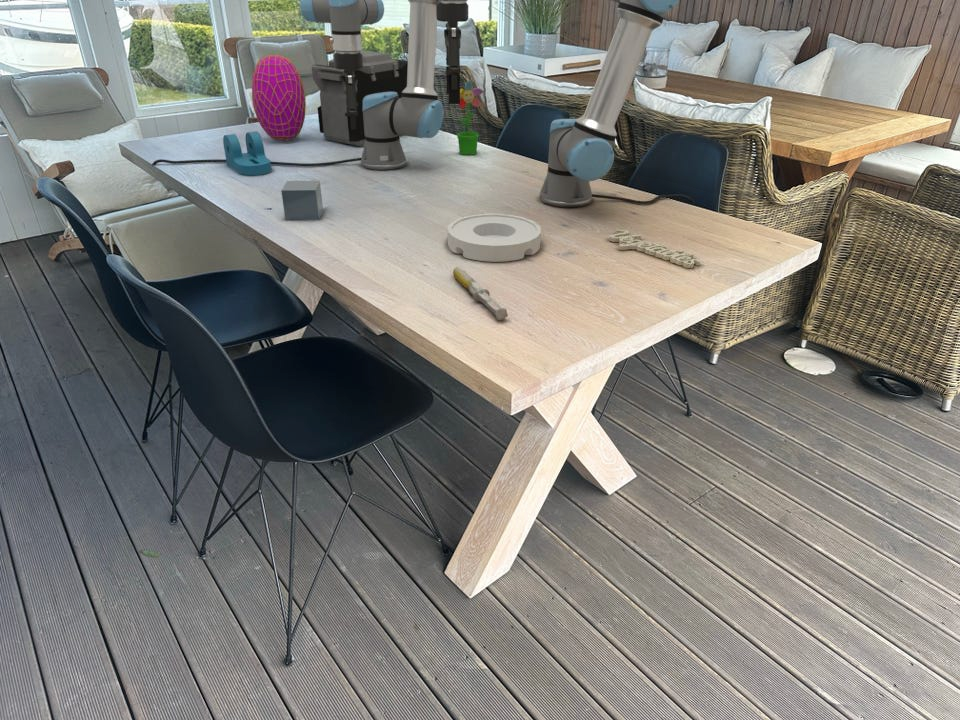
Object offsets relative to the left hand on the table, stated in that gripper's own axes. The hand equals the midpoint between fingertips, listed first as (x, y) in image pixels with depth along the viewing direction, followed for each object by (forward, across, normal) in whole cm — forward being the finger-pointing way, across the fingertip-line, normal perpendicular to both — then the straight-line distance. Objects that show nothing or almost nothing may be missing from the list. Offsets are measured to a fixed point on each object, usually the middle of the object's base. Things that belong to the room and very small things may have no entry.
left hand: (353, 136), depth 189 cm
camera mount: (+19, -43, -34) cm, 58 cm away
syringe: (+20, +68, +23) cm, 74 cm away
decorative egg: (+18, -83, -26) cm, 89 cm away
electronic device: (+18, -86, +7) cm, 88 cm away
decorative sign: (+19, +49, +69) cm, 87 cm away
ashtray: (+19, +38, +32) cm, 54 cm away
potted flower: (+18, -53, +42) cm, 70 cm away
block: (+19, +8, -15) cm, 26 cm away
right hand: (-13, +20, +25) cm, 34 cm away
